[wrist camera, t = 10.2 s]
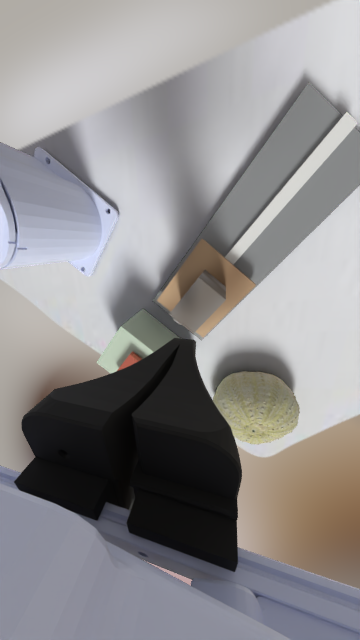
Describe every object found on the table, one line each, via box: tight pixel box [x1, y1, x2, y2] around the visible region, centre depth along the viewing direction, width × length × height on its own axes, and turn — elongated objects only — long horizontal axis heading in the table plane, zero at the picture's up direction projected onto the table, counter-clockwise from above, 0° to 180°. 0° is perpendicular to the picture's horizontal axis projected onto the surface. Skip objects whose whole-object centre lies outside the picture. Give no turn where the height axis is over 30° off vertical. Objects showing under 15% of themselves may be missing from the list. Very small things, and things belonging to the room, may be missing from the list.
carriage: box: [157, 239, 256, 337], centre depth 15 cm, size 6×7×5 cm
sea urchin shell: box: [213, 371, 300, 444], centre depth 21 cm, size 9×8×8 cm
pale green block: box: [97, 309, 179, 373], centre depth 21 cm, size 8×6×5 cm
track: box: [153, 83, 360, 340], centre depth 16 cm, size 7×19×1 cm, turn 143°
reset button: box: [117, 351, 143, 371], centre depth 19 cm, size 3×3×2 cm
